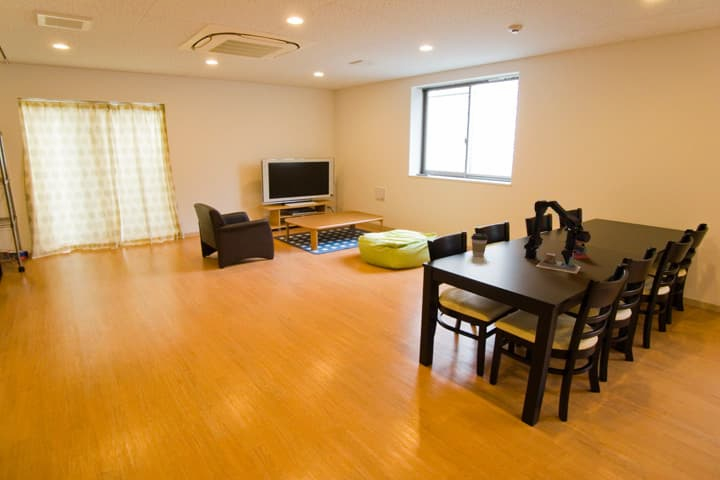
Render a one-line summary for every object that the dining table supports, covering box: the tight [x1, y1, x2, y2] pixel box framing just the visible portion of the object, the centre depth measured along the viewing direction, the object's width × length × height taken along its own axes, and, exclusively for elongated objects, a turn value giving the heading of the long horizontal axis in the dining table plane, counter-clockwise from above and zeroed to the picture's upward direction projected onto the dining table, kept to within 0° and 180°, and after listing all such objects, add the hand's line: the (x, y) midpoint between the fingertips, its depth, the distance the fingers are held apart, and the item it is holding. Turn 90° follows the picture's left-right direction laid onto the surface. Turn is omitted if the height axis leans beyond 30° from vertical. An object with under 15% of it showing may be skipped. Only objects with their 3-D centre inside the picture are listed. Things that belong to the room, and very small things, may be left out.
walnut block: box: [544, 252, 557, 265], centre depth 259 cm, size 5×5×7 cm
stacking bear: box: [572, 241, 590, 260], centre depth 277 cm, size 11×10×18 cm
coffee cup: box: [470, 232, 489, 258], centre depth 279 cm, size 11×11×15 cm
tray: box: [536, 258, 581, 274], centre depth 256 cm, size 23×14×2 cm, turn 53°
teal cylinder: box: [563, 257, 574, 267], centre depth 252 cm, size 5×5×7 cm
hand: (568, 263), depth 253 cm, fingers open, 7 cm apart
